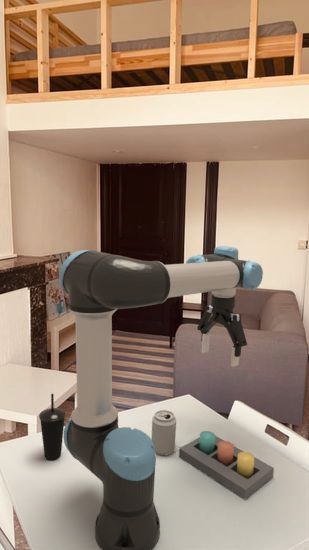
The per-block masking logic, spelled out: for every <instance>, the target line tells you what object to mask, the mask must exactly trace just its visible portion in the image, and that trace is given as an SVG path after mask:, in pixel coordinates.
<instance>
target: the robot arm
mask: <svg viewBox="0 0 309 550" xmlns="http://www.w3.org/2000/svg"><path fill="white" fill-rule="evenodd" d="M263 270H264V269H263V268H262V265H261V264H260V263H259V262H256V261H251V260H244V259H239V249H238V248H237V247H234V246H225V245H224V246H222V245H221V246H220V245H219V246H216V247H215V248H214V252H213V254H211V253H210V254H197V255H192V256H190V257H189V258H187V260H186V262H185V263H173V264H164V263H163V262H160V261H158V260H152V261H151V260H150V261H149V260H141V259H136V258H131V257H128V256H123V255H117V254H111V253H108V252H103V251H102V252H101V251H98V250H91V249H88V250H87V249H85V250H83V249H81V250H78V251H75V252H73V253H71V254H70V255H69V256H67V258H66V259H65V260H64V261H63V263H62V265H61V267H60V270H59V275H58V280H59V281H58V282H59V284H60V287H61V289H62V290H63V291H64V292H65V294H67V295H68V296H67V297H68V298H67V299H68V301H67V302H68V311H70V312H71V314H73V315H74V317H75V318H74V320H75V356H76V358H75V359H76V360H75V361H76V364H75V365H76V366H75V367H76V368H75V369H76V370H75V371H76V405H77V406H76V407H75V408H74V409H73V410H72V412H71V415H70V417H69V419H68V422H67V423H66V424H64V425H65V426H64V429H63V443H64V446H65V448H66V450H67V451H68V452H69V453H70V455H71V456H72V457H73V459H75V460H77V461H78V462H79V463H81V464H82V465H83V466H84V467H85V468H86V469H87V470H88V471H89V472H91V473H92V474H93V476H95V477H96V478H97V479H98V480H100V481H101V483H102V487H103V488H102V496H103V497H102V503H101V506H100V510H99V513H98V514H97V516H96V520H95V524H94V538H95V540H96V543H97V545H98V547H99V548H100V549H101V550H153V549H154V547H155V546H156V545H157V543H158V541H159V539H160V529H161V522H160V521H161V520H160V518H159V514H158V511H157V508H156V505H155V502H154V496H155V495H154V494H155V493H154V492H155V481H156V480H155V479H156V478H155V477H156V476H155V475H156V465H157V464H156V461H157V458H156V457H157V456H156V453H155V447H154V444H153V442H152V437H150V436H149V435H148V434H146V432H144V431H142V430H140V429H139V428H133V429H132V428H131V427H130V426H125V427H120V426H119V411H118V409H117V408H116V407H115V406H114V405H113V354H112V352H113V347H112V346H113V337H112V336H113V333H112V331H113V330H112V329H113V326H112V325H113V323H112V320H113V319H112V316H113V315H114V313H115V312H116V311H117V310H122V309H133V308H134V309H135V308H140V307H141V308H142V307H147V306H152V305H154V306H155V305H158V304H159V305H160V304H163V303H164V302H166V301H167V299H170V298H175V297H176V298H177V297H183V296H190V295H196V294H197V295H198V294H203V293H209V292H211V294H212V295H211V298H210V299H211V300H210V305H206V306H205V308H204V312H203V314H202V316H201V319H200V321H199V323H198V325H197V328H196V329H197V330H198V331H200V333H201V335H200V336H201V338H200V339H201V354H206V353H209V352H210V339H211V333H210V331H211V329H212V328H214V326H215V325H216V324H220V325H222V326H223V327H224V328H225V329H226V330H227V333H228V335H229V337H230V339H231V342H232V344H233V345H232V346H231V353H230V354H231V355H230V356H231V357H230V367H231V368H232V367H237V366H239V364H240V362H239V361H240V357H241V354H242V347H246V346H248V342H247V338H246V335H245V332H244V328H243V327H244V326H243V324H242V315H241V314H240V313H236V314H235V313H234V308H235V307H236V297H235V296H236V293H237V289H238V288H241V289H244V290H252V291H253V290H256V289H257V288H259V286H260V285H261V283H262V281H263V275H264V272H263Z"/></svg>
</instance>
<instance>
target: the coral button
mask: <svg viewBox="0 0 309 550" xmlns="http://www.w3.org/2000/svg"><path fill="white" fill-rule="evenodd" d="M234 446H235V444H233V442H230V441H227V440H224V441H221V442H219V443H218V453H217V461H218V462H220V463H222V464H223V465H225V466H229V465H231V464H232V463H233V452H234Z"/></svg>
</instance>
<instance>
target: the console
mask: <svg viewBox="0 0 309 550" xmlns="http://www.w3.org/2000/svg"><path fill="white" fill-rule="evenodd" d="M221 441H225V440H224V439H223V438H220V437H219V436H217V435H215V446H214V452H213V453H211V454H205V453H203V452H202V451H200V450H199V443H200V436H199V437H197V438H195V439H193V440H191V441H190V442H188V443H186V444H185V445H183V446H181V447H179V450H178V451H179V452H178V458H180V459H181V460H182V461H184V462H186V463H187V464H188V465H190V466H192V467H193V466H194V467H193V468H195V469H196V468H197V469H196V470H198V471H199V470H200V471H199V472H201V473H202V474H204V475H205V474H206V476H207V477H209V478H210V479H212V480H213V481H215V482H216V483H218V484H219V485H221V486H223V488H225V489H227V490H229V491H230V492H232V493H233V494H235V495H236V496H238V498H241V499H242V500H243V501H246V500H247V499H248V498H249V497H250V496H252V495H253V494H254V493H255V492H257V491H258V490H260V488H262V487H263V486H264V485H266V483H268V482H269V481H271V480H272V479H274V474H275V473H274V471H275V467H273V466H271V465H269V463H266V462H264V461H262V460H260V459H259V458H257V457H256V456H254V470H253V476H252V477H250V478H245V477H243V476H241V475H240V474H238V473H237V459H238V453H240V452H245V451H244V450H243V449H240V448H239V447H236V446H235V445H234V452H233V463H232V464H231V465H229V466H225V465H223V464H222V463H220V462H218V461H217V453H218V443H219V442H221Z"/></svg>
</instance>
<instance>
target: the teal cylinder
mask: <svg viewBox="0 0 309 550" xmlns="http://www.w3.org/2000/svg"><path fill="white" fill-rule="evenodd" d="M215 436H216V434H215V433H214V432H213V431H210V430H204V431H201V432H200V433H199V437H200V443H199V450H200V451H202V452H203V453H205V454H211V453H213V452H214V446H215Z"/></svg>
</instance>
